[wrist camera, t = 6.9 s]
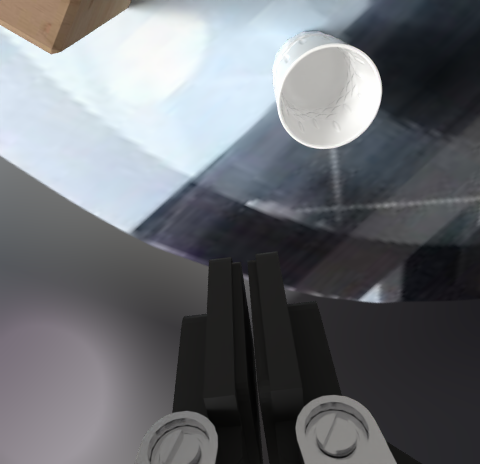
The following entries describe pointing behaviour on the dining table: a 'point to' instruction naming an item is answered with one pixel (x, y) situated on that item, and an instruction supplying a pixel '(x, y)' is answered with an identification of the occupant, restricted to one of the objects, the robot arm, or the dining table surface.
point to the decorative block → (57, 19)
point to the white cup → (325, 89)
